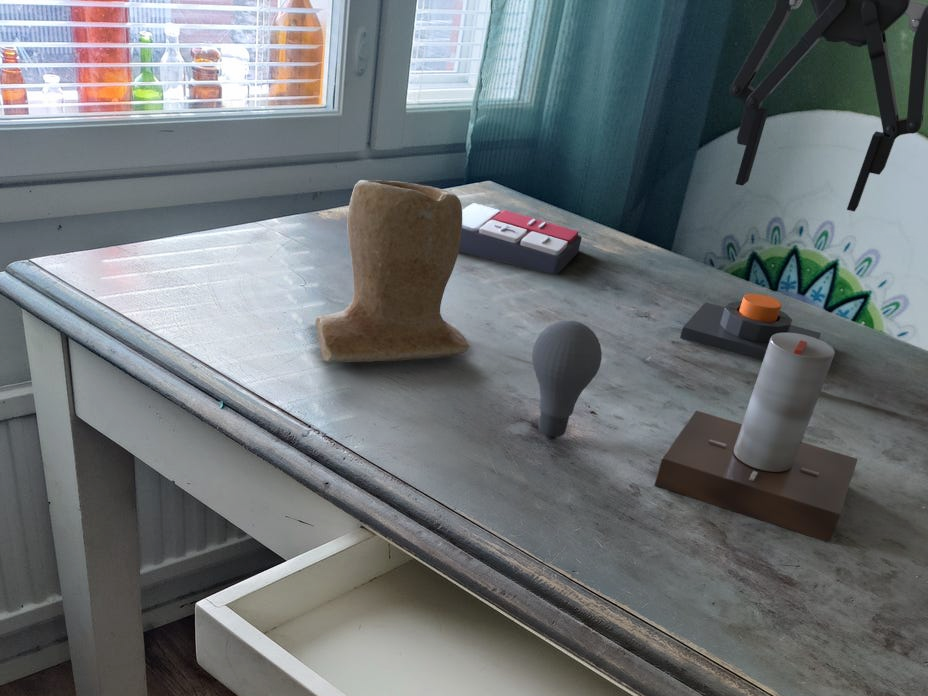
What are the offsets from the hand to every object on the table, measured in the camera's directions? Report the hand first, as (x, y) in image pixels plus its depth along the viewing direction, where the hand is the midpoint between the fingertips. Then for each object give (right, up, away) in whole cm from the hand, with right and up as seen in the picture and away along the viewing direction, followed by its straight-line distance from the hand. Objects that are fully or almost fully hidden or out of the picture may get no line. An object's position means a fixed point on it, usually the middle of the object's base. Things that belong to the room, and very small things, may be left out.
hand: (796, 195), depth 96 cm
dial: (-9, -29, -17) cm, 34 cm away
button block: (-2, -12, +10) cm, 16 cm away
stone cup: (-40, -16, -2) cm, 43 cm away
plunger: (-1, -9, +8) cm, 12 cm away
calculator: (-27, +3, +25) cm, 37 cm away
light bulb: (-25, -27, -13) cm, 39 cm away
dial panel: (-9, -31, -15) cm, 35 cm away
